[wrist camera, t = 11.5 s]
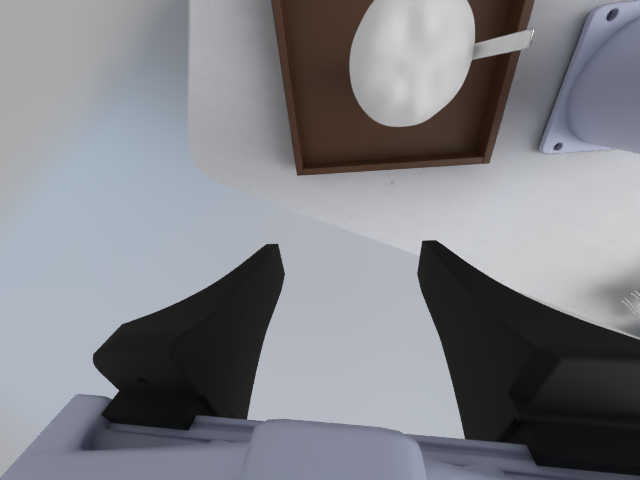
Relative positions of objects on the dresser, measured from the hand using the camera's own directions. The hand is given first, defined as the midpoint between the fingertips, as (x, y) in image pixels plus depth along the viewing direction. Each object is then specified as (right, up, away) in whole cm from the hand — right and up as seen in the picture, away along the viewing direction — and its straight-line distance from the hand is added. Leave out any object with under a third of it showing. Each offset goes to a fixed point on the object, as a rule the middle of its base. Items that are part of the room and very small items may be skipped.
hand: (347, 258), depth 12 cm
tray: (+3, +12, +4) cm, 13 cm away
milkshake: (+3, +12, +4) cm, 13 cm away
